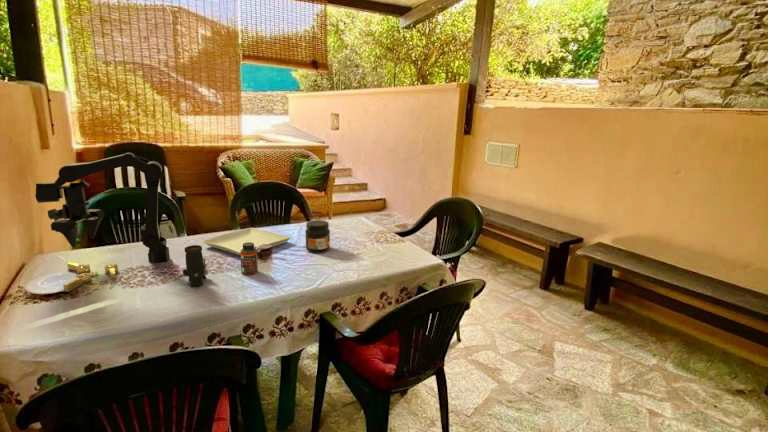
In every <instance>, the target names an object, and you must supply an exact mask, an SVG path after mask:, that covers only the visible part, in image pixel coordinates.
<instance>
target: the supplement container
mask: <svg viewBox="0 0 768 432" xmlns="http://www.w3.org/2000/svg"><path fill="white" fill-rule="evenodd" d="M305 226H306V229H305V230H304V231H305V250H306V251H308V252H310V253H313V254H314V253H316V254H320V253H325V252H327V251H328V250H330V248H331V242H330V241H331V230H330V228H329V227H330V224H329V221H326V220H323V219H321V220H320V219H319V220H317V219H315V220H314V219H313V220H310V221H307V222H306V225H305Z"/></svg>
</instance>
